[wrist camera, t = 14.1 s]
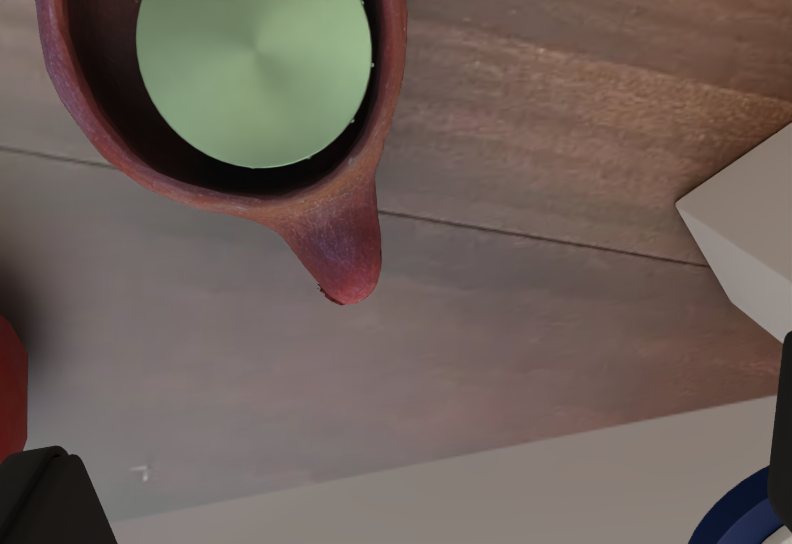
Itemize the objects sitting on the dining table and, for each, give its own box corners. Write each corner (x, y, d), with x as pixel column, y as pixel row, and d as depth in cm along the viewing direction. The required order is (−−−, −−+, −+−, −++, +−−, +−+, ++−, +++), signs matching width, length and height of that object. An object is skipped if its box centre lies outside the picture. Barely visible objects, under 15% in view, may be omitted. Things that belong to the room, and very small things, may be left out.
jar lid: (188, -101, 20) (173, -120, 18) (400, -11, 21) (405, -21, 19) (128, 118, 21) (108, 120, 20) (329, 190, 22) (327, 199, 21)
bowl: (20, 42, 27) (-91, 69, 20) (186, -261, 23) (126, -365, 16) (341, 254, 32) (347, 336, 25) (515, 32, 29) (581, 53, 21)
